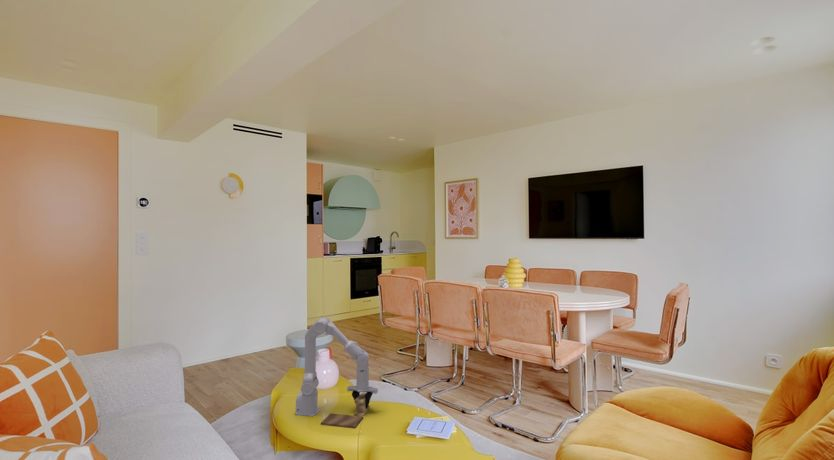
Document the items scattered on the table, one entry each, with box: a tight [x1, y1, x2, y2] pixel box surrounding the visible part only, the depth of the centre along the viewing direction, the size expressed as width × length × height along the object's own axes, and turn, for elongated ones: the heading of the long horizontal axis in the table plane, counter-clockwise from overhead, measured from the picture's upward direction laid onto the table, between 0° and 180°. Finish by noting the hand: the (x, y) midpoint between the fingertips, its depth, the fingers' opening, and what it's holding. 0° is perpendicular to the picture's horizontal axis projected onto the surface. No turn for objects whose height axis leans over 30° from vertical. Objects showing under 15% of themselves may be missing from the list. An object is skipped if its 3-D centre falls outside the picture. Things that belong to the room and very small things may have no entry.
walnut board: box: [320, 413, 364, 429], centre depth 176 cm, size 16×10×1 cm, turn 78°
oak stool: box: [353, 392, 371, 418], centre depth 187 cm, size 4×10×7 cm, turn 168°
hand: (362, 407), depth 187 cm, fingers closed on oak stool, 4 cm apart
